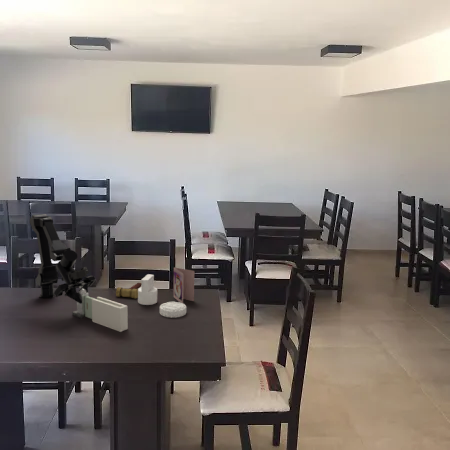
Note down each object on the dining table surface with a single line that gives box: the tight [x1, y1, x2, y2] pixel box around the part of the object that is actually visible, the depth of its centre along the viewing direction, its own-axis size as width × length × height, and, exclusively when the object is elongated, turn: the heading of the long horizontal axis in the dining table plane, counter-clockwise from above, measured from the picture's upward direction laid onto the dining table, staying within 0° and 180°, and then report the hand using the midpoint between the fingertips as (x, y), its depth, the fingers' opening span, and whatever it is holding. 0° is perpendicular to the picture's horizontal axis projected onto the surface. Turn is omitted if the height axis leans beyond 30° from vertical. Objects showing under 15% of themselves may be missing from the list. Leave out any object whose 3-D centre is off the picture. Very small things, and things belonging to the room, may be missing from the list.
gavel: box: [115, 282, 141, 299], centre depth 252 cm, size 21×5×10 cm
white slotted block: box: [91, 296, 129, 333], centre depth 209 cm, size 17×4×10 cm, turn 55°
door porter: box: [72, 288, 90, 319], centre depth 219 cm, size 6×5×12 cm
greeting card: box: [172, 267, 195, 304], centre depth 241 cm, size 11×7×15 cm, turn 28°
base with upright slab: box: [137, 273, 158, 306], centre depth 237 cm, size 9×9×12 cm
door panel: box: [84, 295, 104, 320], centre depth 214 cm, size 12×1×9 cm, turn 55°
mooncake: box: [159, 301, 187, 319], centre depth 226 cm, size 12×12×4 cm
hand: (85, 302), depth 217 cm, fingers open, 4 cm apart
